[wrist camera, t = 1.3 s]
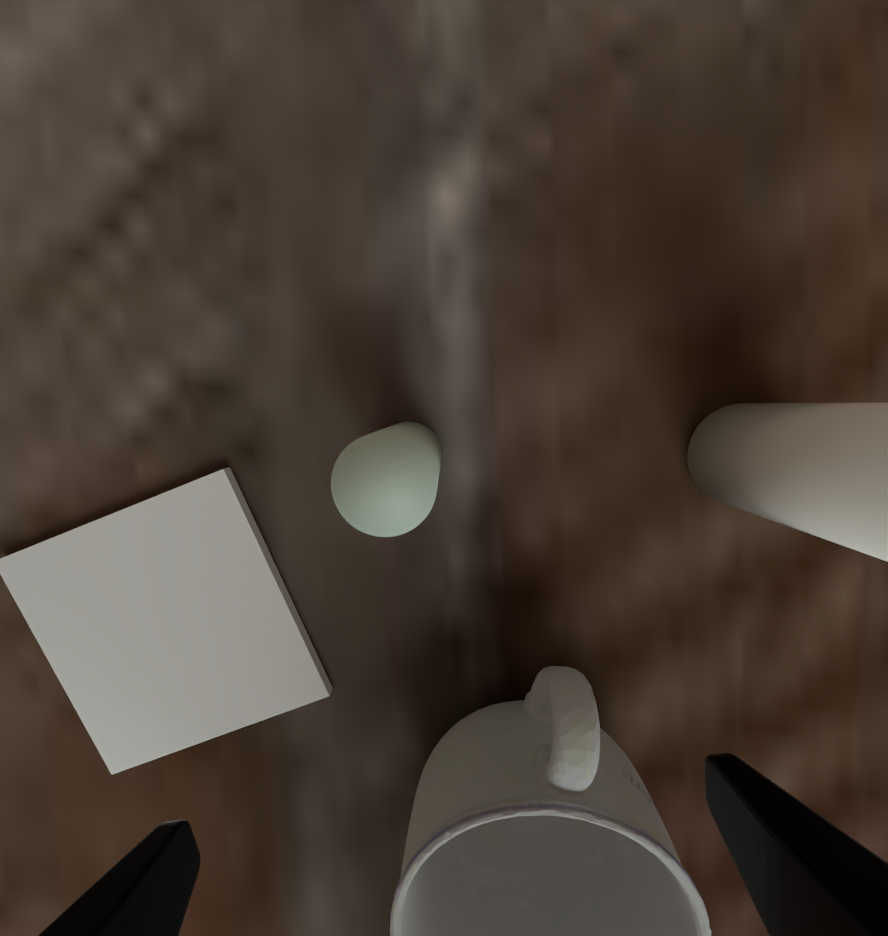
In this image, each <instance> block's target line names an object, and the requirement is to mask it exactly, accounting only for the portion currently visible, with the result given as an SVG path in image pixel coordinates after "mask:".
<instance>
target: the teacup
mask: <svg viewBox="0 0 888 936" xmlns="http://www.w3.org/2000/svg"><path fill="white" fill-rule="evenodd" d="M390 936H711V929H710V927H709V918H708V914H707V911H706V908H705V905H704V902H703V900H702V898H701V896H700V895H699V893H698V890H697V888H696V886H695V884H694V883H693V881H692V879H691V878H690V876H689V874H688V873H687V872H686V870H685V869H684V867H683V866H682V865H681V862H680V860H679V858H678V855H677V853H676V851H675V848H674V846H673V844H672V842H671V839H670V837H669V835H668V833H667V831H666V828H665V826H664V824H663V822H662V820H661V818H660V816H659V814H658V811H657V809H656V807H655V805H654V803H653V801H652V799H651V797H650V795H649V793H648V791H647V789H646V787H645V785H644V784H643V782H642V780H641V778H640V776H639V775H638V773H637V771H636V769H635V768H634V766H633V765H632V763H631V762H630V760H629V759H628V757H627V756H626V754H625V753H624V752H623V751H622V749H621V748H620V747H619V746H618V745H617V743H616V742H615V741H614V740H613V739H612V738H611V737H610V736H609V735H608V734H607V733H606V732H605V731H603V730H602V729H601V728H600V724H599V717H598V710H597V705H596V700H595V697H594V694H593V691H592V688H591V685H590V684H589V682H588V680H587V679H586V677H585V676H584V675H583V674H582V673H580V672H579V671H578V670H576V669H573V668H570V667H564V666H550V667H546V668H543V669H542V670H541V671H540V672H539V673H538V674H537V677H536V679H535V681H534V683H533V686H532V688H531V691H530V692H528V693H527V695H526V697H525V700H518V701H510V702H502V703H498V704H494V705H490V706H487V707H485V708H482V709H479V710H477V711H475V712H473V713H472V714H470V715H468V716H466V717H465V718H463V719H462V720H460V721H459V722H458V723H456V724H455V725H454V726H453V727H452V728H450V729H449V730H448V731H447V733H446V734H445V735H444V736H443V737H442V738H441V740H440V741H439V742H438V744H437V745H436V746H435V748H434V749H433V751H432V753H431V754H430V756H429V758H428V760H427V762H426V764H425V766H424V769H423V772H422V775H421V777H420V780H419V783H418V787H417V791H416V795H415V800H414V804H413V809H412V813H411V818H410V822H409V828H408V833H407V839H406V845H405V851H404V857H403V863H402V869H401V875H400V880H399V882H398V885H397V887H396V891H395V894H394V899H393V904H392V909H391V914H390Z"/></svg>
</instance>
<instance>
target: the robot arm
mask: <svg viewBox="0 0 888 936" xmlns="http://www.w3.org/2000/svg"><path fill="white" fill-rule="evenodd" d="M705 794H706V800H707V803H708V806H709V809H710V811H711V814H712V816H713V818H714V820H715V822H716V824H717V826H718V828H719V831H720V833H721V835H722V837H723V839H724V841H725V843H726V845H727V848H728V850H729V852H730V854H731V856H732V858H733V860H734V862H735V865H736V867H737V869H738V871H739V873H740V875H741V877H742V879H743V882H744V884H745V886H746V888H747V890H748V892H749V894H750V896H751V899H752V901H753V903H754V905H755V907H756V909H757V911H758V913H759V915H760V917H761V919H762V921H763V923H764V926H765V928H766V929H767V931H768V933H769V935H770V936H888V863H887V862H885V861H884V860H882V859H881V858H880V857H878V856H877V855H875V854H874V853H873V852H871V851H870V850H868V849H867V848H865V847H864V846H863V845H861V844H860V843H858V842H857V841H856V840H854V839H853V838H851V837H850V836H848V835H847V834H846V833H844V832H843V831H841V830H840V829H839V828H837V827H836V826H834V825H833V824H831V823H830V822H829V821H827V820H826V819H824V818H823V817H822V816H820V815H819V814H817V813H816V812H814V811H813V810H812V809H810V808H809V807H807V806H806V805H805V804H803V803H802V802H800V801H799V800H797V799H796V798H795V797H793V796H792V795H790V794H789V793H788V792H786V791H785V790H783V789H782V788H780V787H779V786H778V785H776V784H775V783H773V782H772V781H771V780H769V779H768V778H766V777H765V776H763V775H762V774H761V773H759V772H758V771H756V770H755V769H753V768H752V767H751V766H749V765H748V764H746V763H745V762H744V761H742V760H741V759H739V758H738V757H736V756H735V755H733V754H730V753H722V754H714V755H708V756H707V757H706V758H705ZM199 867H200V853H199V849H198V847H197V844H196V841H195V838H194V835H193V832H192V829H191V826H190V824H189V822H188V821H186V820H183V819H182V820H174V821H167V822H163V823H161V824H160V825H158V826H157V827H156V828H155V829H154V830H153V831H152V832H150V833H149V834H148V835H147V836H146V837H145V838H144V839H143V840H142V841H141V842H140V843H138V844H137V845H136V846H135V847H134V848H133V849H132V850H131V851H130V852H129V853H128V854H127V855H125V856H124V857H123V858H122V859H121V860H120V861H119V862H118V863H117V864H116V865H115V866H113V867H112V868H111V869H110V870H109V871H108V872H107V873H106V874H105V875H104V876H103V877H102V878H100V879H99V880H98V881H97V882H96V883H95V884H94V885H93V886H92V887H91V888H90V889H88V890H87V891H86V892H85V893H84V894H83V895H82V896H81V897H80V898H79V899H78V900H77V901H75V902H74V903H73V904H72V905H71V906H70V907H69V908H68V909H67V910H66V911H65V912H63V913H62V914H61V915H60V916H59V917H58V918H57V919H56V920H55V921H54V922H53V923H52V924H50V925H49V926H48V927H47V928H46V929H45V930H44V931H43V932H42V933H41V934H40V935H39V936H178V935H179V931H180V928H181V925H182V922H183V919H184V916H185V913H186V910H187V906H188V903H189V900H190V897H191V894H192V891H193V888H194V885H195V882H196V878H197V875H198V872H199Z"/></svg>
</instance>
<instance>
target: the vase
mask: <svg viewBox="0 0 888 936" xmlns="http://www.w3.org/2000/svg"><path fill="white" fill-rule="evenodd" d="M687 464H688V469H689V473H690V475H691V478H692V480H693V481H694V483H695V485H696V486H697V487H698V488H699V489H700V490H701V491H702V492H703V493H704V494H706V495H707V496H708V497H710V498H712V499H714V500H717V501H720V502H723V503H725V504H728V505H731V506H734V507H737V508H739V509H742V510H745V511H748V512H751V513H753V514H756V515H759V516H762V517H765V518H767V519H770V520H773V521H776V522H778V523H781V524H784V525H787V526H790V527H792V528H795V529H798V530H801V531H804V532H806V533H809V534H812V535H815V536H818V537H820V538H823V539H826V540H829V541H831V542H834V543H837V544H840V545H843V546H845V547H848V548H851V549H854V550H857V551H859V552H862V553H865V554H868V555H871V556H873V557H876V558H879V559H882V560H885V561H887V562H888V403H739V404H732V405H728V406H725V407H722V408H720V409H718V410H716V411H714V412H713V413H711V414H710V415H708V416H707V417H706V418H705V419H704V420H703V421H702V422H701V423H700V424H699V425H698V427H697V428H696V430H695V431H694V433H693V435H692V437H691V439H690V443H689V446H688V451H687Z"/></svg>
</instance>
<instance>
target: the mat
mask: <svg viewBox="0 0 888 936" xmlns="http://www.w3.org/2000/svg"><path fill="white" fill-rule="evenodd" d="M0 575H1V576H2V578H3V580H4V582H5V584H6V585H7V587H8V589H9V591H10V593H11V594H12V596H13V598H14V600H15V602H16V603H17V605H18V607H19V609H20V611H21V612H22V614H23V616H24V618H25V620H26V621H27V623H28V625H29V627H30V629H31V630H32V632H33V634H34V636H35V638H36V639H37V641H38V643H39V645H40V647H41V648H42V650H43V652H44V654H45V656H46V657H47V659H48V661H49V663H50V665H51V666H52V668H53V670H54V672H55V674H56V675H57V677H58V679H59V681H60V683H61V684H62V686H63V688H64V690H65V692H66V693H67V695H68V697H69V699H70V701H71V702H72V704H73V706H74V708H75V710H76V711H77V713H78V715H79V717H80V719H81V720H82V722H83V724H84V726H85V728H86V729H87V731H88V733H89V735H90V737H91V738H92V740H93V742H94V744H95V746H96V747H97V749H98V751H99V753H100V755H101V756H102V758H103V760H104V762H105V764H106V765H107V767H108V769H109V771H110V773H111V774H115V773H118V772H121V771H124V770H126V769H129V768H132V767H135V766H137V765H140V764H143V763H146V762H148V761H151V760H154V759H157V758H160V757H162V756H165V755H168V754H171V753H173V752H176V751H179V750H182V749H185V748H187V747H190V746H193V745H196V744H198V743H201V742H204V741H207V740H209V739H212V738H215V737H218V736H221V735H223V734H226V733H229V732H232V731H234V730H237V729H240V728H243V727H246V726H248V725H251V724H254V723H257V722H259V721H262V720H265V719H268V718H270V717H273V716H276V715H279V714H282V713H284V712H287V711H290V710H293V709H295V708H298V707H301V706H304V705H307V704H309V703H312V702H315V701H318V700H320V699H323V698H326V697H329V696H330V694H331V692H332V689H333V688H332V685H331V683H330V681H329V679H328V677H327V675H326V673H325V670H324V668H323V666H322V664H321V662H320V660H319V658H318V655H317V653H316V651H315V649H314V647H313V645H312V643H311V640H310V638H309V636H308V634H307V632H306V630H305V627H304V625H303V623H302V621H301V619H300V617H299V615H298V612H297V610H296V608H295V606H294V604H293V602H292V600H291V597H290V595H289V593H288V591H287V589H286V587H285V584H284V582H283V580H282V578H281V576H280V574H279V572H278V569H277V567H276V565H275V563H274V561H273V559H272V557H271V554H270V552H269V550H268V548H267V546H266V544H265V541H264V539H263V537H262V535H261V533H260V531H259V529H258V526H257V524H256V522H255V520H254V518H253V516H252V514H251V511H250V509H249V507H248V505H247V503H246V501H245V498H244V496H243V494H242V492H241V490H240V488H239V486H238V483H237V481H236V479H235V477H234V475H233V473H232V471H231V468H230V467H228V468H225V469H222V470H219V471H217V472H214V473H212V474H209V475H207V476H204V477H202V478H199V479H197V480H194V481H192V482H189V483H187V484H185V485H182V486H180V487H177V488H175V489H172V490H170V491H167V492H165V493H162V494H160V495H157V496H155V497H152V498H150V499H147V500H145V501H142V502H140V503H137V504H135V505H132V506H130V507H127V508H125V509H122V510H120V511H117V512H115V513H112V514H110V515H107V516H105V517H103V518H100V519H98V520H95V521H93V522H90V523H88V524H85V525H83V526H80V527H78V528H75V529H73V530H70V531H68V532H65V533H63V534H60V535H58V536H55V537H53V538H50V539H48V540H45V541H43V542H40V543H38V544H35V545H33V546H30V547H28V548H25V549H23V550H20V551H18V552H16V553H13V554H11V555H8V556H6V557H3V558H1V559H0Z"/></svg>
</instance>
